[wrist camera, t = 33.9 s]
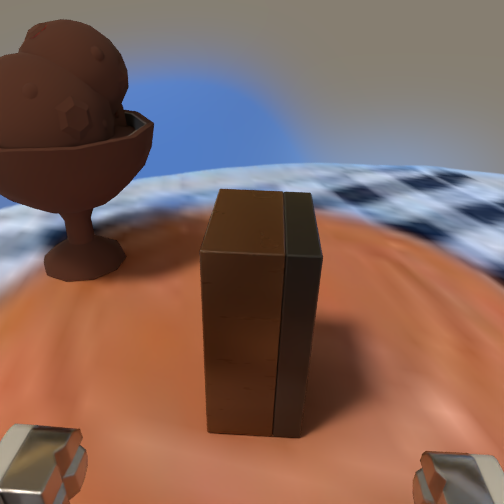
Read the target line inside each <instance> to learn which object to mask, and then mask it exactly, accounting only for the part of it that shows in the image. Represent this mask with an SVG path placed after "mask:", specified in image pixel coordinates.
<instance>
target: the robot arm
mask: <svg viewBox="0 0 504 504" xmlns="http://www.w3.org/2000/svg"><path fill="white" fill-rule="evenodd" d="M82 438H83V437H82V434H81V431H80V429H76V428H64V427H51V426H39V425H28V424H14V425H13V426H12V427H11V428H10V429H9V430H8V431H7V432H6V434H5V435H4V437H3V438H2V440H1V442H0V504H70V502H69V500H70V499H71V498H73V497H74V496H75V495H76V494H77V493H78V492H80V489H81V487H82V484H83V482H84V479H85V475H86V470H87V466H88V456H87V452H86V449H84V448H83V447H82V446H81V445H80V443H81V441H82ZM420 462H421V465H422V468H421V469H420V470H418V471H417V472H415V476H414V479H413V499H414V504H504V473H503V471H502V468H501V466H500V464H499V462H498V460H497V459H496V458H495V457H494V456H492V455H482V454H468V453H456V452H436V451H425V452H424V453H423V454H422V456H421V459H420Z"/></svg>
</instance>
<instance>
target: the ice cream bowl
mask: <svg viewBox="0 0 504 504" xmlns="http://www.w3.org/2000/svg"><path fill="white" fill-rule="evenodd" d="M127 89H128V74H127V68H126V66H125V64H124V61H123V59H122V56H121V54H120V53H119V51H118V50H117V49H116V47H115V46H114V45H113V44H112V42H111V41H110V40H109V39H108V38H106V37H105V36H104V35H102V34H101V33H100V32H98V31H97V30H95V29H94V28H93V27H91V26H89V25H87V24H84V23H81V22H77V21H72V20H61V19H60V20H55V21H50V22H45V23H39V24H37V25H35V26H33V27H32V28H31V29H29V30H28V32H27V35H26V38H25V41H24V42H23V44H22V46H21V47H20V48H19V52H18V53H15V54H8V55H4V56H2V57H0V195H2V196H4V197H6V198H7V199H9V200H11V201H13V202H17V203H19V204H22V205H25V206H29V207H32V208H35V209H39V210H42V211H46V212H50V213H59V214H60V215H61V217H62V218H63V219H64V221H65V226H66V232H67V237H68V238H67V239H66V240H64V241H62V242H61V243H59V244H57V245H56V246H55V247H54V248H53V249H52V250H51V251H50V252H48V253H47V254H46V255H45V258H44V265H45V269H46V273H47V275H49V276H52V277H55V278H58V279H61V280H64V281H78V280H90V279H96V278H98V277H100V276H103V275H105V274H107V273H110V272H112V271H114V270H117V269H118V267H119V266H120V265H121V263H122V262H123V261H124V259H125V258H126V255H125V253H124V251H123V249H122V248H121V246H120V244H119V243H118V241H117V240H113V239H109V238H106V237H102V236H98V235H94V230H93V226H92V221H91V215H92V211H93V208H95V207H98V206H101V205H104V204H106V203H107V202H108V201H110V200H111V199H113V198H114V197H115V196H117V195H118V194H119V193H120V192H121V191H122V190H123V189H124V188H125V187H126V186H127V185H128V184H129V183H130V182H131V181H132V179H133V178H134V177H135V176H136V175H137V173H138V172H139V171H140V170H141V169H142V168H143V166H144V165H145V163H146V160H147V157H148V155H149V152H150V149H151V147H152V138H153V129H154V123H153V122H152V121H150V120H148V119H147V118H146V117H144V116H143V115H141V114H140V113H138V112H136V111H129V110H124V109H123V106H122V104H121V103H122V101H123V99H124V96H125V94H126V92H127Z"/></svg>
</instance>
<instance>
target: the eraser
mask: <svg viewBox="0 0 504 504" xmlns="http://www.w3.org/2000/svg"><path fill="white" fill-rule="evenodd" d="M322 261H323V255H322V250H321V244H320V239H319V233H318V228H317V222H316V217H315V211H314V206H313V200H312V195H311V193H303V192H284V193H283V192H282V191H259V190H236V189H219V192H218V195H217V199H216V202H215V205H214V208H213V211H212V214H211V217H210V220H209V224H208V227H207V230H206V233H205V236H204V239H203V242H202V245H201V248H200V275H201V299H202V322H203V345H204V369H205V392H206V415H207V432H212V433H228V434H244V435H260V436H272V434H273V436H279V437H295V438H299V437H300V436H301V428H302V420H303V412H304V404H305V396H306V388H307V380H308V373H309V365H310V357H311V349H312V341H313V333H314V325H315V317H316V309H317V301H318V293H319V285H320V277H321V269H322Z"/></svg>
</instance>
